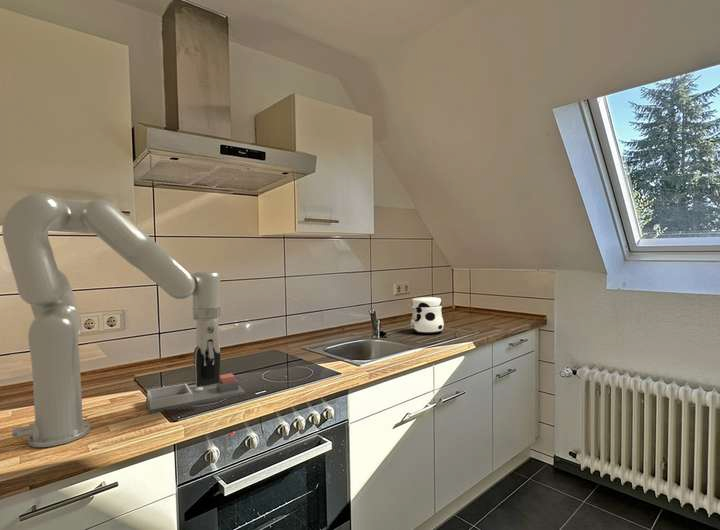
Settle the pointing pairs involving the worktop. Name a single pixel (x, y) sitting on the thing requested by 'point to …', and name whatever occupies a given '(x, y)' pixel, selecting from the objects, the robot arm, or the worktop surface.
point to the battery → (198, 368)
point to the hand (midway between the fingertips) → (206, 376)
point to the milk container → (427, 315)
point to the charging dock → (189, 395)
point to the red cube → (227, 378)
